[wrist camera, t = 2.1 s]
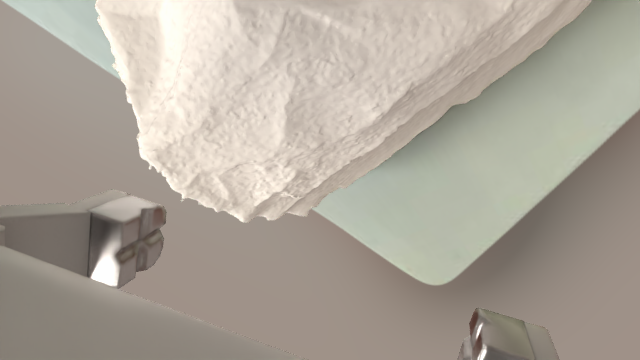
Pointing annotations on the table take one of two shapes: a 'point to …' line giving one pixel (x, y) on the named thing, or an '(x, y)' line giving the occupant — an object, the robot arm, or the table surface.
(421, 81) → the rock
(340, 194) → the table surface
